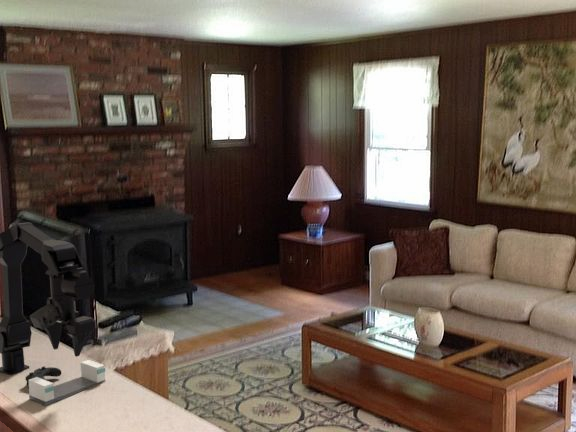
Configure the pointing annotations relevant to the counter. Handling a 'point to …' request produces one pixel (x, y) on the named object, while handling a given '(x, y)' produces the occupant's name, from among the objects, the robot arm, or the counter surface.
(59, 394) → the rail plate
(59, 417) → the counter surface
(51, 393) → the mounted modules
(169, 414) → the counter surface
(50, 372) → the game controller
